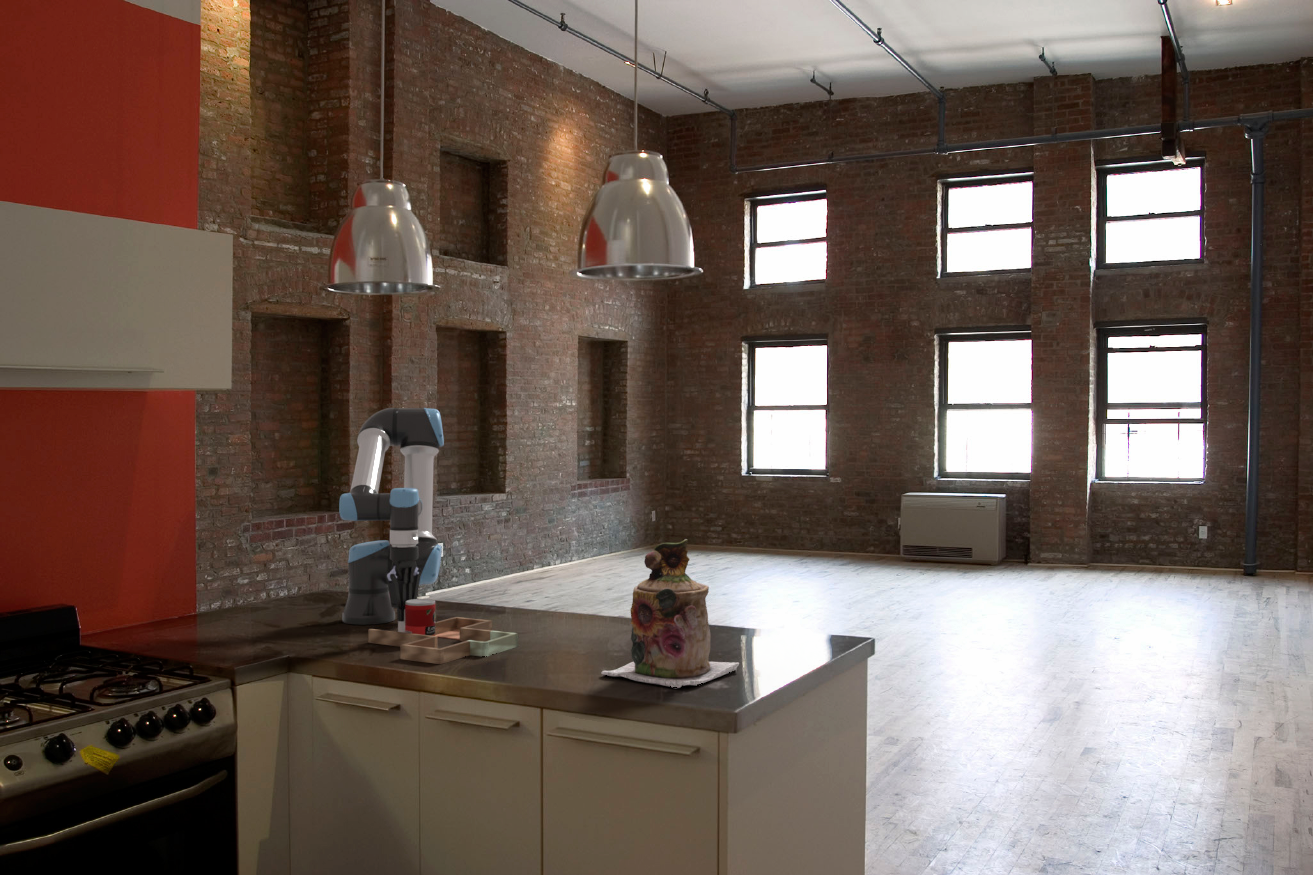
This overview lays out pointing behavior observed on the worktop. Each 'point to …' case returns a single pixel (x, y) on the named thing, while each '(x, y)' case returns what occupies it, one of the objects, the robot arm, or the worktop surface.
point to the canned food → (420, 616)
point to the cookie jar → (670, 625)
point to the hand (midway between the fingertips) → (403, 632)
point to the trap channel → (464, 629)
